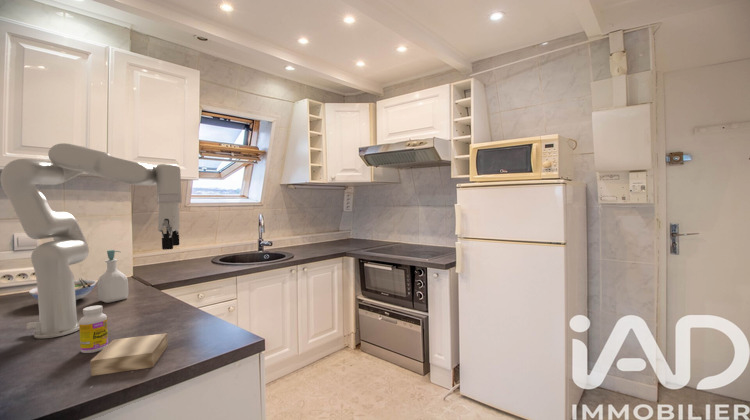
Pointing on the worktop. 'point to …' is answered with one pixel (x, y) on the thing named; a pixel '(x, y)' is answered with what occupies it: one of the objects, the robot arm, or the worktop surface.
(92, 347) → the supplement bottle
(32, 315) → the worktop surface
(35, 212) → the robot arm
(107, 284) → the soap bottle
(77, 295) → the ramen bowl
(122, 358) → the block
